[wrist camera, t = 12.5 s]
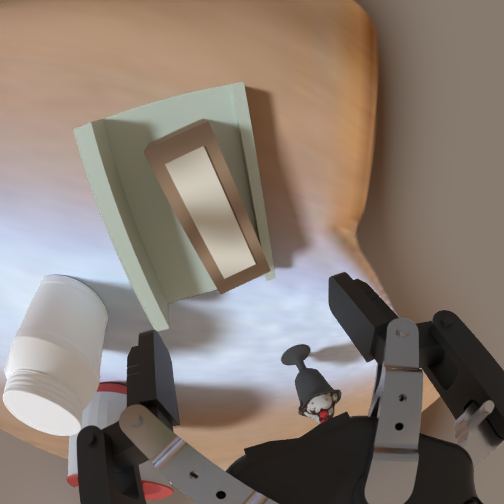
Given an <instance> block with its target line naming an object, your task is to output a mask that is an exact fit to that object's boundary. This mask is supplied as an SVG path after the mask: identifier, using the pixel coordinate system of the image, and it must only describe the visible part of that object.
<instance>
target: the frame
mask: <svg viewBox="0 0 504 504" xmlns="http://www.w3.org/2000/svg"><path fill="white" fill-rule="evenodd" d="M144 154H145V156H146V158H147V160H148V162H149V164H150V166H151V168H152V170H153V172H154V174H155V176H156V178H157V180H158V182H159V184H160V186H161V188H162V190H163V192H164V194H165V196H166V197H167V199H168V201H169V203H170V205H171V207H172V209H173V211H174V213H175V214H176V216H177V218H178V220H179V222H180V224H181V225H182V227H183V229H184V231H185V233H186V235H187V236H188V238H189V240H190V242H191V244H192V245H193V247H194V249H195V251H196V253H197V254H198V256H199V258H200V260H201V261H202V263H203V265H204V267H205V268H206V270H207V272H208V274H209V275H210V277H211V279H212V281H213V282H214V284H215V286H216V288H217V289H218V291H219V293H220V294H223V293H225V292H227V291H229V290H231V289H234V288H236V287H238V286H240V285H242V284H244V283H246V282H249V281H251V280H253V279H255V278H257V277H259V276H261V275H263V274H266V273H268V272H270V271H271V270H270V268H269V265H268V263H267V260H266V258H265V255H264V253H263V251H262V248H261V246H260V243H259V241H258V238H257V236H256V233H255V231H254V229H253V226H252V224H251V221H250V219H249V217H248V214H247V212H246V209H245V207H244V205H243V202H242V200H241V197H240V195H239V192H238V190H237V188H236V185H235V183H234V181H233V178H232V176H231V173H230V171H229V169H228V166H227V164H226V161H225V159H224V157H223V154H222V152H221V150H220V147H219V145H218V143H217V140H216V138H215V135H214V133H213V131H212V128H211V126H210V124H209V121H206V120H204V119H200V120H198V121H195V122H193V123H191V124H189V125H187V126H184V127H182V128H180V129H178V130H176V131H174V132H172V133H169V134H167V135H165V136H163V137H161V138H159V139H157V140H155V141H153V142H151V143H149V144H148V146H147V147H146V149H145V151H144Z"/></svg>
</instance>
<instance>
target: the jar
mask: <svg viewBox="0 0 504 504" xmlns="http://www.w3.org/2000/svg"><path fill="white" fill-rule="evenodd" d="M107 322H108V314H107V311H106V308H105V306H104V304H103V302H102V301H101V299H100V298H99V297H98V296H97V294H96V293H95V292H94V291H93V290H91V289H90V288H89V287H88V286H86V285H85V284H83V283H82V282H80V281H78V280H76V279H73V278H70V277H67V276H62V275H49V276H45V277H43V278H42V280H41V282H40V284H39V286H38V289H37V291H36V293H35V295H34V297H33V299H32V301H31V303H30V306H29V308H28V310H27V312H26V314H25V316H24V319H23V321H22V323H21V326H20V328H19V330H18V331H17V333H16V336H15V338H14V341H13V343H12V346H11V349H10V356H9V357H8V360H7V363H6V366H5V369H4V372H5V375H6V378H7V382H6V386H5V389H4V394H3V402H4V404H5V406H6V407H7V409H8V410H9V411H10V412H11V413H12V414H13V415H14V416H15V417H16V418H18V419H19V420H20V421H22V422H23V423H25V424H27V425H28V426H30V427H32V428H34V429H37V430H39V431H42V432H45V433H48V434H53V435H59V436H71V435H75V434H77V433H78V432H79V431H80V430H81V426H82V414H83V410H84V409H85V408H86V407H87V405H88V404H89V402H90V401H91V400H92V398H93V397H94V396H95V394H96V391H97V388H98V386H99V383H100V366H101V358H102V350H103V343H104V336H105V330H106V325H107Z"/></svg>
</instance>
